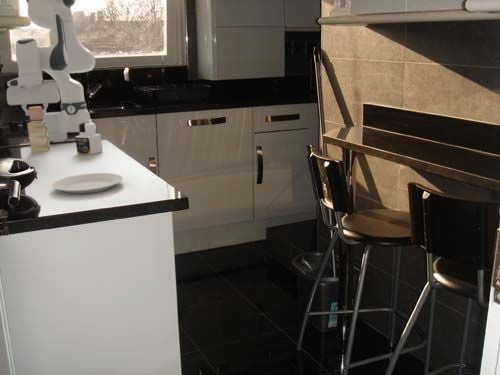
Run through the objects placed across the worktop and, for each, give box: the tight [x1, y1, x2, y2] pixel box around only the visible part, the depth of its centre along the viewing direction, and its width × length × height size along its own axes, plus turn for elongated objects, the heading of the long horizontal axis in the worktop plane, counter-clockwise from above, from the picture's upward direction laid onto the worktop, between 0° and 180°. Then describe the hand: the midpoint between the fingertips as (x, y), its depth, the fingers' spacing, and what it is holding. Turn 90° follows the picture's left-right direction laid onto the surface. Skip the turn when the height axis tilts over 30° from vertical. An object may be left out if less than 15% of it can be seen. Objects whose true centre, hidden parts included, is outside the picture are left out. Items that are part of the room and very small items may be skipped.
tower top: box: [26, 120, 47, 134], centre depth 240 cm, size 6×6×4 cm
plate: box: [51, 172, 124, 195], centre depth 179 cm, size 21×21×2 cm
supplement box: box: [42, 111, 68, 143], centre depth 264 cm, size 7×7×13 cm
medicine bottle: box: [74, 121, 103, 156], centre depth 232 cm, size 7×7×12 cm
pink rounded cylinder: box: [28, 105, 43, 122], centre depth 239 cm, size 5×5×5 cm
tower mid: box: [28, 130, 49, 144], centre depth 241 cm, size 6×6×4 cm
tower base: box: [29, 140, 51, 154], centre depth 242 cm, size 6×6×4 cm
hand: (36, 115), depth 239 cm, fingers closed on pink rounded cylinder, 5 cm apart
